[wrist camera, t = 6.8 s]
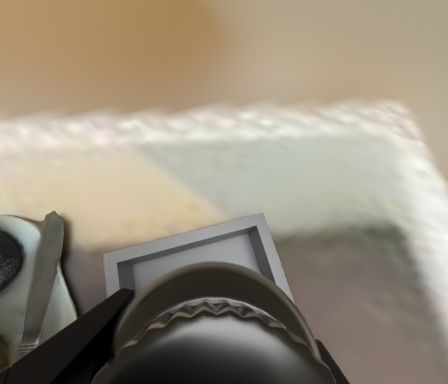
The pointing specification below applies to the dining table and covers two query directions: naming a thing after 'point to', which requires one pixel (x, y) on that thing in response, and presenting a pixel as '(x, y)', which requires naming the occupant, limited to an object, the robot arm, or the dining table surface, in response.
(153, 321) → the supplement bottle
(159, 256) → the square tray
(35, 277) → the salad plate
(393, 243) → the dining table surface
